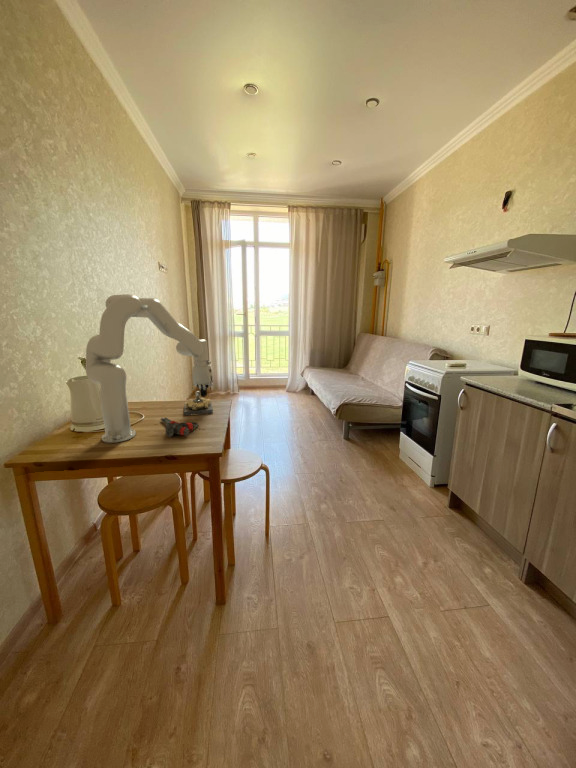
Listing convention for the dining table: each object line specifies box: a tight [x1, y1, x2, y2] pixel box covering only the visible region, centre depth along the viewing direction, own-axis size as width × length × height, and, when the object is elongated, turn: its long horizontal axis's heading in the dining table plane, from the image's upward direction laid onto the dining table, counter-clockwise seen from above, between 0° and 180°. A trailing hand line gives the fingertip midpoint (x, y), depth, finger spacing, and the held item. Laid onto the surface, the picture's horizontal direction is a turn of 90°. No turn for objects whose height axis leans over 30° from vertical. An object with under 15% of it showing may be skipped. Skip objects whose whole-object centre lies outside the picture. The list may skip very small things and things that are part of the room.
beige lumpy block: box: [184, 390, 212, 410], centre depth 161 cm, size 13×12×6 cm
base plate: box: [183, 400, 214, 416], centre depth 162 cm, size 15×14×2 cm
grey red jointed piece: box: [160, 416, 199, 438], centre depth 138 cm, size 6×26×15 cm
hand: (203, 396), depth 165 cm, fingers closed
